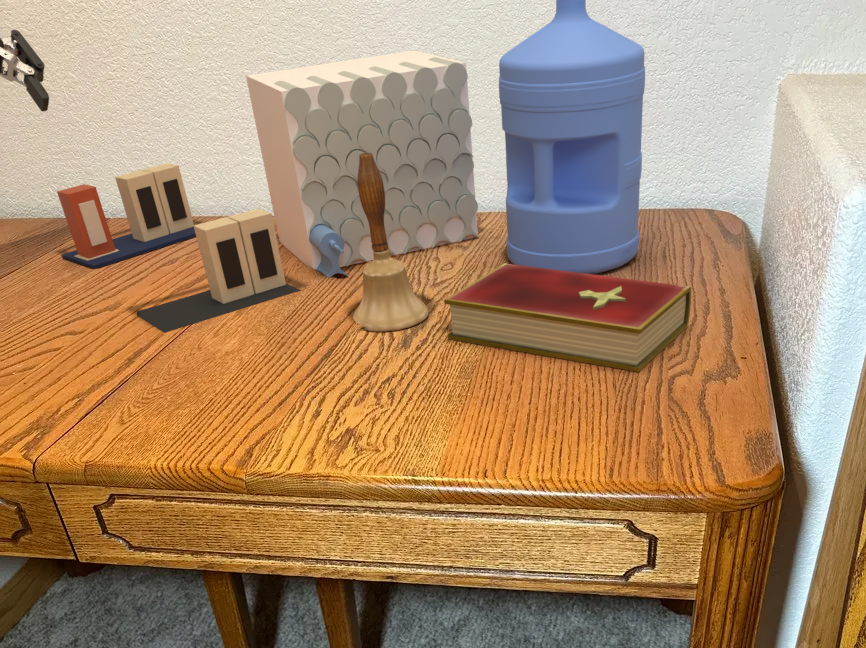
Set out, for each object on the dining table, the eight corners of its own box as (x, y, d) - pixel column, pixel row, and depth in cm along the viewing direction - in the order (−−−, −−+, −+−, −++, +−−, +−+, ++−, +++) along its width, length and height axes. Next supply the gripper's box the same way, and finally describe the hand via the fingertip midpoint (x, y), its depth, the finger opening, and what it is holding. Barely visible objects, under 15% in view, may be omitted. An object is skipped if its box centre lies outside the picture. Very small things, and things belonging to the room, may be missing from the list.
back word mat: (94, 269, 119) (71, 199, 114) (62, 258, 124) (38, 191, 119) (209, 232, 129) (192, 166, 123) (174, 223, 134) (157, 160, 128)
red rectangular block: (90, 259, 121) (68, 194, 116) (78, 255, 123) (56, 191, 118) (116, 250, 123) (96, 186, 118) (104, 247, 125) (84, 184, 120)
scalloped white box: (336, 291, 106) (303, 99, 93) (279, 241, 123) (245, 73, 110) (506, 252, 112) (497, 68, 100) (430, 210, 129) (414, 48, 117)
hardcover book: (508, 299, 100) (505, 259, 97) (689, 325, 90) (692, 282, 87) (447, 338, 92) (443, 296, 89) (638, 371, 83) (640, 326, 80)
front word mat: (165, 337, 98) (141, 255, 93) (134, 316, 104) (109, 239, 99) (301, 294, 106) (286, 216, 100) (265, 277, 111) (249, 203, 106)
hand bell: (372, 338, 94) (346, 168, 83) (340, 316, 99) (312, 154, 89) (442, 318, 96) (426, 152, 86) (407, 297, 102) (388, 139, 92)
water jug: (547, 232, 117) (541, -37, 99) (659, 244, 110) (675, -43, 92) (482, 270, 108) (463, -21, 90) (601, 286, 100) (606, -26, 83)
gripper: (-119, -13, 111) (-39, 101, 112) (-7, -26, 118) (67, 80, 119) (-114, 38, 117) (-38, 145, 118) (-7, 22, 125) (63, 123, 125)
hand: (15, 112), depth 119 cm, fingers open, 8 cm apart
